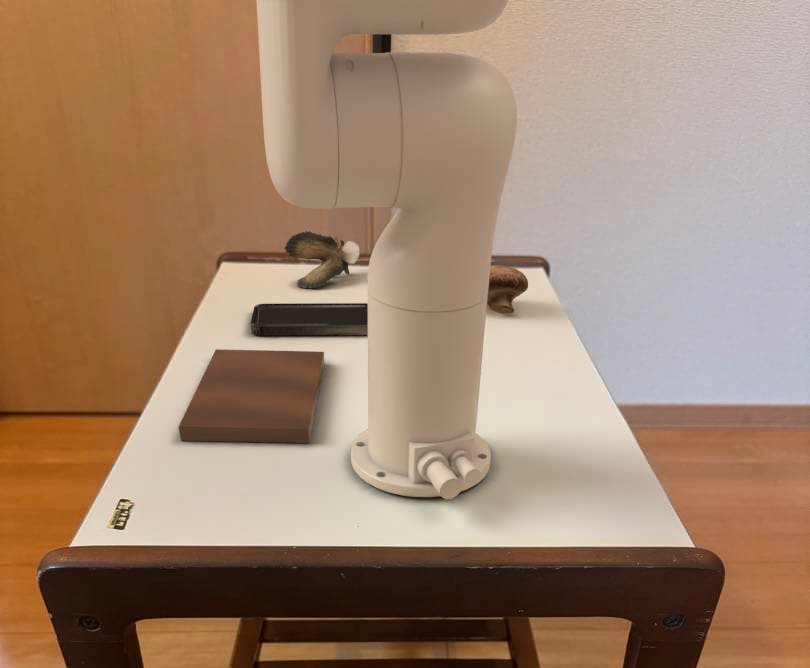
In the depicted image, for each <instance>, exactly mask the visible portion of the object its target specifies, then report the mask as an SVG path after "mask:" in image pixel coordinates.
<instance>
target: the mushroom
mask: <svg viewBox="0 0 810 668" xmlns="http://www.w3.org/2000/svg"><path fill="white" fill-rule="evenodd" d="M528 288H529V280H528V278H527V276H526V275H525V274H524V273H523V272H522V271H521V270H519V269H517V268H514V267H511V266H507V265H503V264H502V265H501V264H495V265H491V266H490V276H489V287H488V297H487V306H488V307H489V308H490V310H491V311H493V312H495V313H499V314H514V313H515V309H514V307H513V301H514V300H515V299H516V298H518V297H520V296H521V295H522V294H523V293H525V292H526V291H527V290H528Z"/></svg>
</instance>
